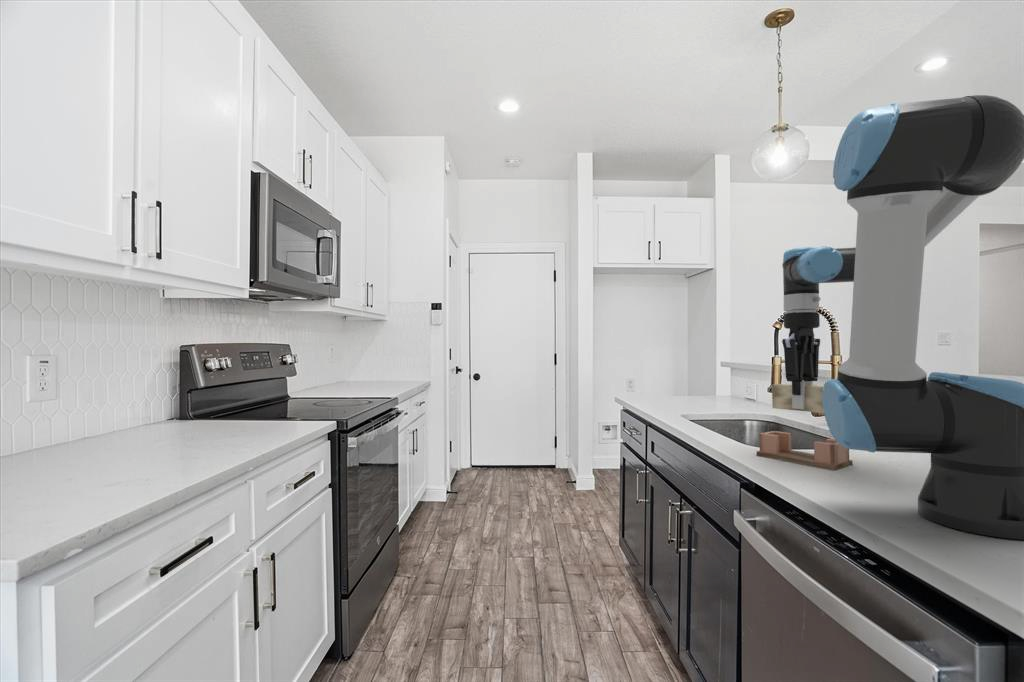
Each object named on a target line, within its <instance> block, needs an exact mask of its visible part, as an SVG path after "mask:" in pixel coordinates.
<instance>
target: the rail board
mask: <svg viewBox="0 0 1024 682" xmlns="http://www.w3.org/2000/svg"><path fill="white" fill-rule="evenodd" d="M755 454H756V456H757V457H761V458H762V457H763V458H767V459H771V460H772V459H773V460H777V461H784V462H787V463H793V464H798V465H804V466H809V467H810V466H811V467H814V468H821V469H825V470H828V471H829V470H830V471H837V470H840V469H843V468H846V467H849V466H854V465H853V460H851V459H849V461H848V462H844V463H841V464H837V465H832V464H827V463H821V462H816V461H814V453H810V452H805V451H800V450H794V449H793V450H792V449H791V451H783V450H779V454H772V453H767V452H761V451H760V450H757V451H756V453H755Z"/></svg>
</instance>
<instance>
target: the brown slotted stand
mask: <svg viewBox="0 0 1024 682" xmlns="http://www.w3.org/2000/svg"><path fill="white" fill-rule="evenodd" d="M758 436H759V451H761V452H767V453H772V454H779V450H783V451H791V450H792V433H791V432H786V431H777V430H772V431H766V432H760V433H759V435H758ZM813 445H814V447H813V450H814V451H813V452H814V453H813V454H814V461H816V462H821V463H827V464H832V465H837V464H841V463H844V462H848V461H849V460H850V449H847V448H844V447H843V446H841V445H840V444H839V443H838V442H837V441H836V440H835V439H834V438H826V439H825V442H824V441H817V440H816V441H814V442H813Z"/></svg>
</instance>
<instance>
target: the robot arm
mask: <svg viewBox="0 0 1024 682" xmlns="http://www.w3.org/2000/svg"><path fill="white" fill-rule="evenodd" d="M1023 161H1024V114H1023V112H1022V111H1021V110H1020V108H1019V107H1017V106H1016V105H1015V104H1013V103H1012V102H1010V101H1009V100H1007V99H1004V98H1000V97H997V96H993V95H986V94H984V95H983V94H975V95H966V96H963V97H962V96H961V97H954V98H943V99H942V98H941V99H933V100H932V99H931V100H924V101H923V100H922V101H913V102H904V103H903V102H902V103H892V104H890V105H889V104H888V105H884V106H879V107H873V108H868V109H864V110H863V111H861V112H859V113H858V114H857V115H855V117H853V118H852V119H851V121H850V122H849V123H848V124H847V126H846V127H845V130H844V132H843V134H842V136H841V138H840V140H839V143H838V146H837V150H836V153H835V156H834V162H833V169H832V171H833V172H832V177H833V179H834V181H833V184H834V187H835V188H836V189H837V190H840V191H842V192H846V193H847V194H846V195H847V196H846V197H847V198H846V203H847V205H849V206H850V207H852V208H853V209H854V210H855V211H856V213H857V216H856V217H857V220H856V221H857V222H856V235H855V239H856V240H855V247H844V248H843V247H842V248H840V247H838V248H833V247H831V246H827V245H826V246H823V245H822V246H818V247H812V246H809V247H806V246H804V247H795V248H791V249H788V250H785V252H783V260H782V266H781V267H782V275H783V276H782V277H783V278H782V279H783V311H784V312H785V313H784V315H783V328H785V329H787V330H788V329H789V333H788V338H783V339H782V340H781V342H782V347H783V353H784V355H783V356H784V368H785V379H786V381H787V382H791V385H792V408H794V409H805V385H808V386H814V382H817V381H818V380H819V379H818V377H819V362H820V361H819V359H820V357H819V356H820V345H821V339H820V338H815V332H814V329H817V328H820V322H821V321H820V313H819V312H817V311H818V310H820V301H821V297H820V284H827V283H828V284H829V283H832V284H833V283H850V282H851V283H853V287H852V305H851V308H852V309H851V321H850V341H849V356H848V359H846V361H844V362H842V364H840V365H839V366H838V367H837V377H836V378H831V379H829V380H827V381H826V382H824V383H823V386H824V388H823V390H822V404H823V410H824V413H823V416H824V418H825V421H826V424H827V428H828V429H829V432H830V434H831V435H832V437H833V439H834V440H836V441H837V442H838V443H839V444H840V445H841V446H843V447H844V448H847V449H849V450H853V451H865V452H866V451H867V452H868V453H876V452H882V453H883V452H885V453H905V454H907V453H909V454H930V469H929V470H928V473H927V475H926V477H925V479H924V482H923V485H922V487H921V489H920V492H919V495H918V496H917V497H918V498H917V512H918V515H920V516H922V517H923V518H925V519H927V520H929V521H932V522H934V523H937V524H939V525H942V526H946V527H948V528H951V529H955V530H958V531H963V532H968V533H972V534H976V535H983V536H986V537H987V536H988V537H994V538H999V539H1000V538H1002V539H1010V540H1024V383H1022V382H1021V381H1017V380H1011V379H1003V378H994V377H985V376H976V375H967V374H957V373H949V372H939V371H938V372H936V371H932V372H930V373H929V376H928V372H927V371H925V370H924V369H923V368H921V367H920V366H919V364H917V362H916V358H917V349H918V348H917V347H918V346H917V345H918V334H919V323H920V322H919V321H920V307H921V296H922V282H923V272H924V271H923V269H924V258H925V257H924V256H925V247H927V246H928V245H929V244H930V243H931V242H932V241H933V240H934V239H935V238H936V237H937V236H938V235H939V234H941V233H942V232H943V231H944V230H945V229H946V228H947V227H949V225H951V223H952V222H954V221H955V219H956V218H957V217H959V215H961V214H962V213H963V212H964V211H965V210H966V209H967V208H968V207H969V206H971V204H972V203H974V201H976V200H977V199H978V198H979V197H982V196H985V195H989V194H990V193H992V192H994V191H996V190H998V189H999V188H1000V187H1001V186H1002V185H1003V184H1004V183H1006V182H1007V180H1009V179H1010V178H1011V177H1012V176H1013V175H1014V173H1015V172H1016V171H1017V170H1018V168H1019V167H1020V166H1021V165H1022V163H1023Z"/></svg>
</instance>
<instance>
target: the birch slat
mask: <svg viewBox="0 0 1024 682" xmlns="http://www.w3.org/2000/svg"><path fill="white" fill-rule="evenodd" d="M823 388H824V385H821V386H820V385H813V386H808V385H805V409H794V408H792V384H785V383H776V384H775V383H773V384H771V397H772V398H771V399H772V400H771V401H772V409H776V410H777V409H778V410H789V411H798V412H806V413H807V412H808V413H818V414H821V413H822V414H824V410H823V404H822V390H823Z"/></svg>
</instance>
